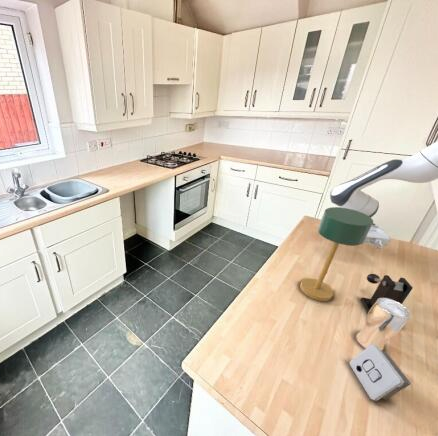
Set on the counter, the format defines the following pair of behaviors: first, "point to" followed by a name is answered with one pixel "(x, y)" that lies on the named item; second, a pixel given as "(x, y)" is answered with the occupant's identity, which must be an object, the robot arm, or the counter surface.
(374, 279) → the switch lever
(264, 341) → the counter surface
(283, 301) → the counter surface
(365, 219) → the desk lamp
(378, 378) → the electrical switch
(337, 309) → the counter surface
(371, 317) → the beer glass
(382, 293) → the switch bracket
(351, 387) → the counter surface
